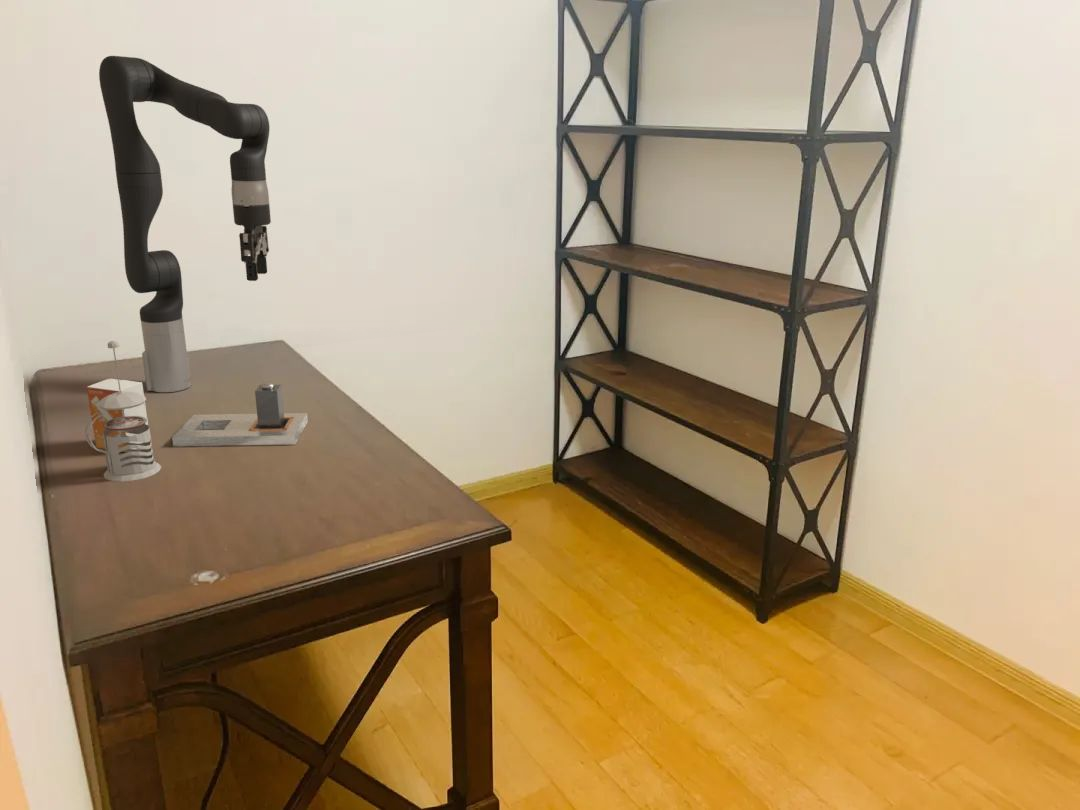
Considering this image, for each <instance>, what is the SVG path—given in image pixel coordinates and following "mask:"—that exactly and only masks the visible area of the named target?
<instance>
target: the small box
mask: <svg viewBox="0 0 1080 810" xmlns="http://www.w3.org/2000/svg"><path fill="white" fill-rule="evenodd" d="M119 382H120V389H121V392H134V393H138V394H140V395H143V396H145V393H144V387H143V386H144V385H143V382H141V381H140V382H139V381H132V380H127V379H119ZM86 391H87V392H86V393H87V397H88V398H87V399H88V403H89V404H88V405H89V410H90V416H93V415H94V414H95V413H100V415H103V416H104V421H101V420H100V417H99V418H97V419H96V420H95V422H94V423H93V425H92V428H93V430H92V431H93V435H94V442H95V443H94V444H95V447H96V448H97V449H103V450H106V449H105V443H104V437H103V432H104V430H106V428H105V427H104V424H105V422H106V421H109V420H111V419H114V418H117V417H123V410H104V409H101V408H99V406H98V405H97V403H98V402H99V401H100V400H101V399H103V398H104V397H106V396H108V395H111V394H113V393H117V392H120V390H119V384H118V378H116V379H115V378H107V379H104V380H101V381H99V382H95V383H92V384H91V385H88V386H86ZM124 415H125V416H126V417H127V416H141V417H144V418H146V420H147V421H146V423H145V424H146V425H148V426H149V421H148V420H149V419H148V415H147V407H146V401H145V402H144V404H142V405H139V406H136V407H133V408H128V409H124ZM98 416H99V414H96V415H95V416H94V417H92V419H91V423H92V422H93V420H94V419H95V418H96V417H98ZM101 419H102V420H103V418H102V416H101ZM117 434H121V435H125V436H134V435H138V434H131V433H126V432H122V431H114V432H112V433H110V434H109V435H108V437H111V436H113V435H117ZM129 443H136V444H140V443H143V442H129ZM125 446H128V445H124V444H120V445H118V447H125ZM133 449H136V450H139V448H133ZM121 452H122V453H128V451H121ZM121 452H120V453H121Z"/></svg>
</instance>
